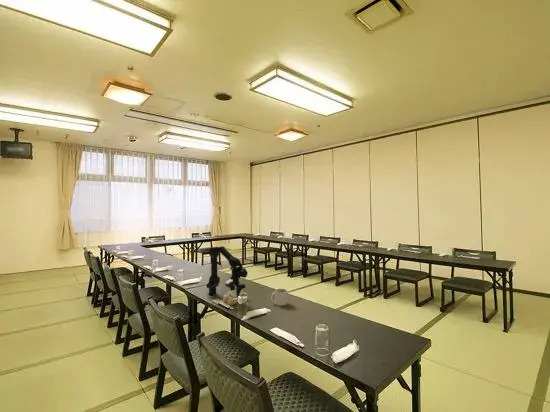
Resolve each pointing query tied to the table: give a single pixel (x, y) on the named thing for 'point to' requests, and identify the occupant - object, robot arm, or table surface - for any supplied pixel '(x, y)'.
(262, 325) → the table surface
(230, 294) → the roll
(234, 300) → the holder
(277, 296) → the mug
